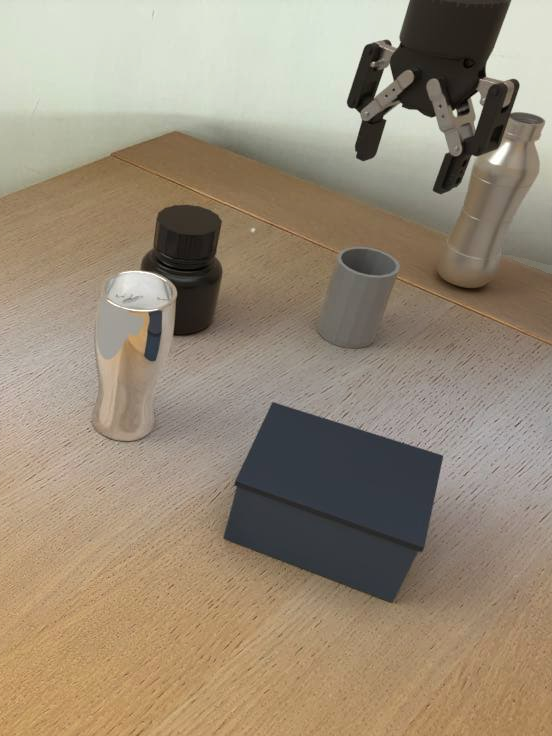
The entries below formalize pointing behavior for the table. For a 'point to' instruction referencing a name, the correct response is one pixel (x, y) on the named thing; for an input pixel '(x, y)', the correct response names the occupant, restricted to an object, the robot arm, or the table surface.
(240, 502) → the storage box
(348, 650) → the table surface
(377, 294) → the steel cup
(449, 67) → the robot arm
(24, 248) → the table surface
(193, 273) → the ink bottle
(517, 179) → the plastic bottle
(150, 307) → the beer glass
